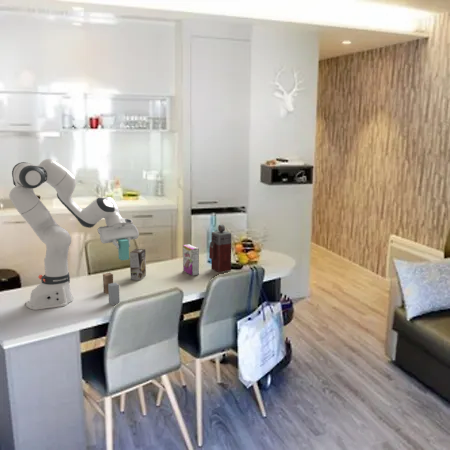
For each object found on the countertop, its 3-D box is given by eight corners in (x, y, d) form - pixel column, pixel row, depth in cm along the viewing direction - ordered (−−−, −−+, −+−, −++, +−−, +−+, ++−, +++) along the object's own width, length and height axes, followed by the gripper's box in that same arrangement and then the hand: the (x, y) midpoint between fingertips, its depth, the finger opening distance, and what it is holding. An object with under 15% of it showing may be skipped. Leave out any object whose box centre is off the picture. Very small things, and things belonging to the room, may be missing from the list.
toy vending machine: (207, 269, 315) (208, 224, 309) (223, 266, 321) (223, 222, 315) (215, 273, 307) (215, 227, 301) (231, 270, 313) (231, 225, 307)
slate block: (112, 305, 254) (111, 286, 252) (108, 302, 258) (108, 283, 255) (119, 303, 257) (118, 284, 254) (116, 301, 260) (115, 282, 258)
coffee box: (140, 280, 293) (140, 253, 289) (130, 279, 294) (129, 252, 290) (146, 275, 301) (145, 249, 298) (136, 274, 303) (135, 248, 299)
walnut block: (106, 293, 270) (105, 275, 268) (103, 291, 273) (102, 273, 271) (113, 292, 272) (112, 274, 270) (110, 290, 276) (110, 272, 274)
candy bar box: (182, 271, 310) (182, 244, 307) (189, 269, 313) (189, 243, 310) (192, 276, 301) (191, 249, 298) (199, 274, 304) (199, 247, 300)
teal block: (121, 260, 261) (121, 241, 259) (118, 258, 264) (118, 239, 262) (129, 259, 263) (128, 240, 261) (125, 257, 266) (125, 238, 264)
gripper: (97, 223, 259) (106, 246, 254) (135, 219, 271) (143, 241, 265) (95, 230, 264) (103, 253, 258) (131, 226, 275) (140, 247, 269)
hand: (124, 247), depth 262 cm, fingers closed on teal block, 4 cm apart
